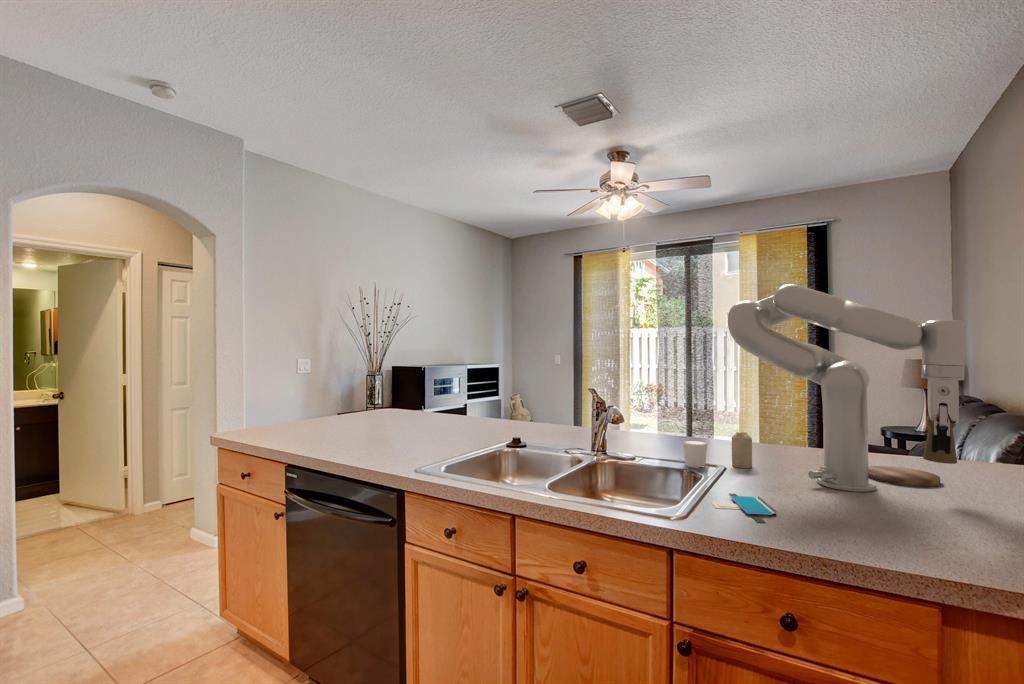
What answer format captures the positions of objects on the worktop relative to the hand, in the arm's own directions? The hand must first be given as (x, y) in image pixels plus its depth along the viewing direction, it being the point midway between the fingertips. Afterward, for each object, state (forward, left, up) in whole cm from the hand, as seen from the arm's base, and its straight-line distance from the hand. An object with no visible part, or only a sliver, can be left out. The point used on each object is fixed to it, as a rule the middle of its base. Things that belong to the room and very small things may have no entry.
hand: (940, 450), depth 115 cm
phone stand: (-49, +5, -12) cm, 50 cm away
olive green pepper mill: (0, 0, -3) cm, 3 cm away
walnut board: (+9, +16, -11) cm, 22 cm away
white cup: (-36, +42, -12) cm, 57 cm away
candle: (-23, +38, -12) cm, 46 cm away
